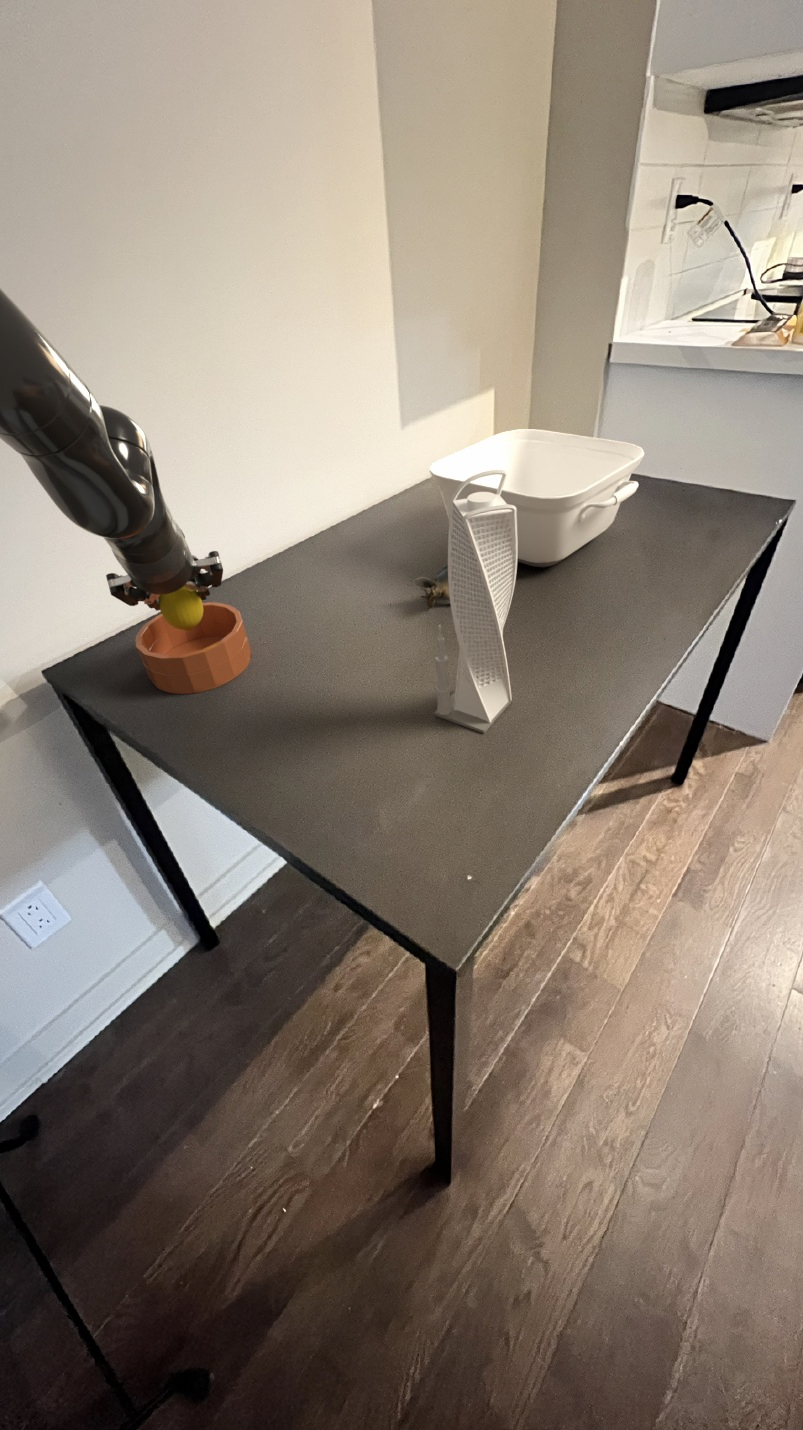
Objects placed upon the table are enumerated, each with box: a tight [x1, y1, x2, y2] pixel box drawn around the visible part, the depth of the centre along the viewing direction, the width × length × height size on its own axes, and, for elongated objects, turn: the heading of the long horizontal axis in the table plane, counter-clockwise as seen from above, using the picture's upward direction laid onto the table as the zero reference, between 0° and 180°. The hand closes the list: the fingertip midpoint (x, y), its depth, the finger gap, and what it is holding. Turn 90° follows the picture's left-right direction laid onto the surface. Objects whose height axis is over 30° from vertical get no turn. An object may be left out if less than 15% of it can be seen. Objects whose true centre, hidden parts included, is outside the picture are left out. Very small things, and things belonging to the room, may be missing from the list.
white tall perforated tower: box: [434, 470, 518, 734], centre depth 69 cm, size 8×8×28 cm
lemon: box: [159, 588, 204, 631], centre depth 85 cm, size 6×6×8 cm
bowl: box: [135, 601, 252, 695], centre depth 89 cm, size 15×15×6 cm
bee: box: [414, 565, 450, 611], centre depth 97 cm, size 8×7×9 cm
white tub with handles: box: [428, 428, 645, 568], centre depth 108 cm, size 34×29×15 cm
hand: (180, 598), depth 86 cm, fingers closed on lemon, 5 cm apart
